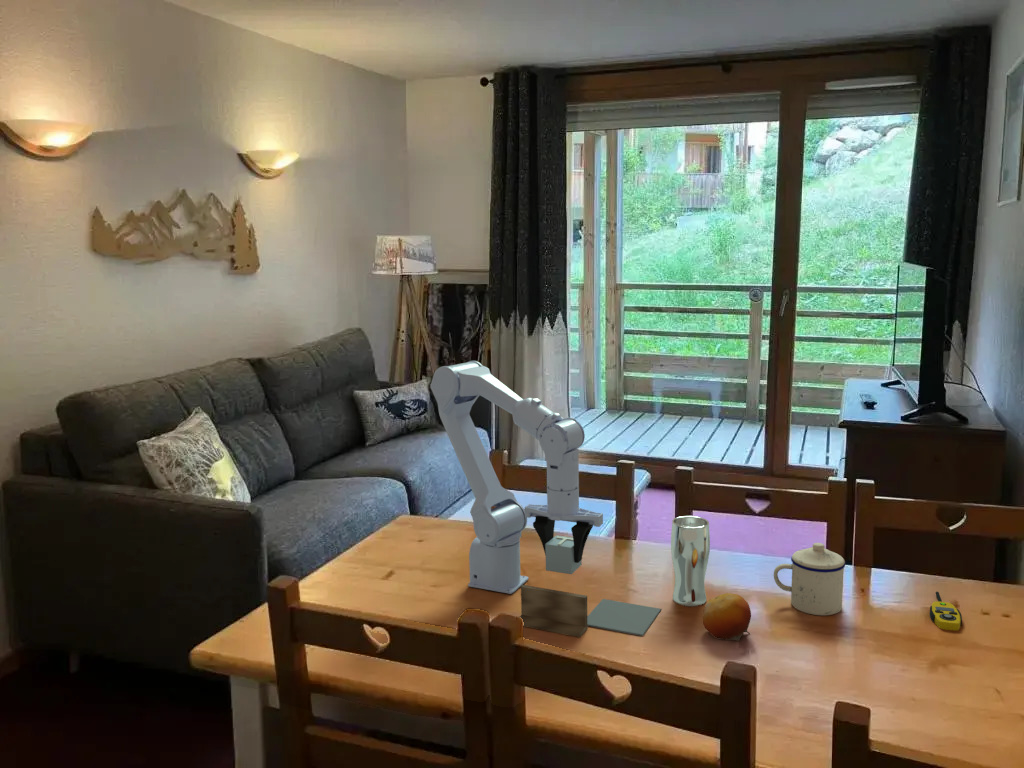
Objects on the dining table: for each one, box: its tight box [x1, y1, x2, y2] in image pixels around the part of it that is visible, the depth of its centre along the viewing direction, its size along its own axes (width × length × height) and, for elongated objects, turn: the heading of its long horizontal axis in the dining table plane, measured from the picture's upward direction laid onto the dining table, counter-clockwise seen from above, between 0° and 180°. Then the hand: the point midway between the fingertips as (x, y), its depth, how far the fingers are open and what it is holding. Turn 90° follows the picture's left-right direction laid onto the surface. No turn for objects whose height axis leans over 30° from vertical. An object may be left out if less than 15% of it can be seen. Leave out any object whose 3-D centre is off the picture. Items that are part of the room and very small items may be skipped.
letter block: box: [544, 534, 582, 575], centre depth 157 cm, size 5×5×5 cm
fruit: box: [701, 592, 752, 642], centre depth 144 cm, size 8×8×8 cm
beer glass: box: [670, 515, 711, 607], centre depth 157 cm, size 7×7×15 cm
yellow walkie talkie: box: [929, 591, 963, 632], centre depth 151 cm, size 5×2×15 cm
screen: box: [519, 584, 588, 638], centre depth 148 cm, size 12×4×6 cm, turn 64°
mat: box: [587, 598, 662, 637], centre depth 151 cm, size 11×11×1 cm
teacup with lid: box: [773, 542, 846, 616], centre depth 154 cm, size 12×9×12 cm
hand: (563, 558), depth 157 cm, fingers closed on letter block, 5 cm apart
